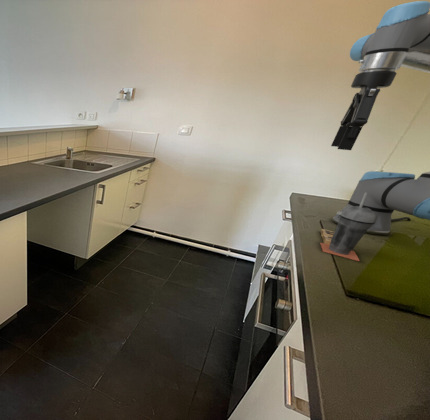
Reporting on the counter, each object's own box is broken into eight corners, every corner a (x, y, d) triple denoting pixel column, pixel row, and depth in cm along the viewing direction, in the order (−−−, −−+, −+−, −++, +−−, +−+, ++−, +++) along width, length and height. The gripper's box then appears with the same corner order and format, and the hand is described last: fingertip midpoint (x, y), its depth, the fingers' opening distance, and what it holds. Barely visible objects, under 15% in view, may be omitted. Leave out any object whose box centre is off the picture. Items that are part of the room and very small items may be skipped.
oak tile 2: (322, 238, 89) (324, 234, 88) (346, 244, 85) (348, 240, 84) (324, 244, 84) (326, 239, 84) (349, 250, 81) (352, 246, 80)
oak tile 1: (319, 232, 94) (321, 228, 93) (342, 237, 90) (344, 233, 89) (321, 237, 89) (323, 233, 89) (345, 243, 86) (348, 239, 85)
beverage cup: (362, 258, 76) (399, 198, 68) (334, 255, 77) (368, 195, 69) (341, 247, 82) (373, 190, 75) (316, 244, 84) (345, 188, 76)
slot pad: (320, 243, 85) (320, 242, 85) (354, 251, 80) (354, 251, 80) (322, 251, 79) (323, 251, 79) (359, 261, 75) (359, 261, 74)
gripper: (348, 78, 80) (319, 144, 88) (367, 65, 63) (328, 149, 71) (384, 77, 76) (349, 146, 84) (414, 63, 58) (367, 153, 66)
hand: (340, 148), depth 77 cm, fingers open, 13 cm apart
